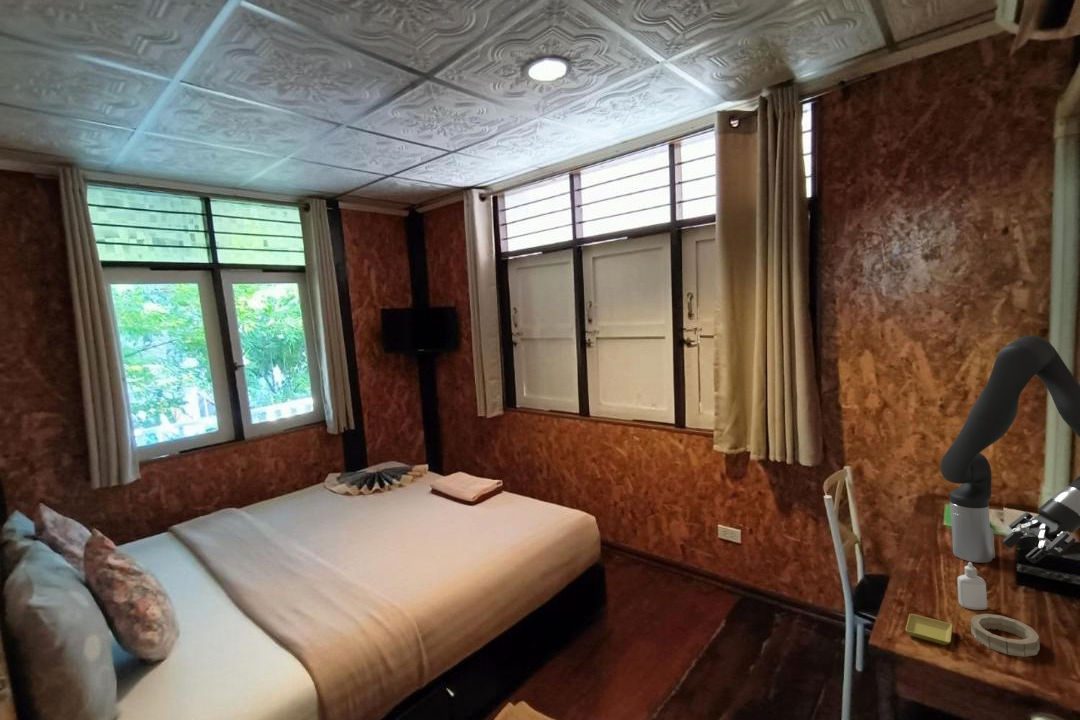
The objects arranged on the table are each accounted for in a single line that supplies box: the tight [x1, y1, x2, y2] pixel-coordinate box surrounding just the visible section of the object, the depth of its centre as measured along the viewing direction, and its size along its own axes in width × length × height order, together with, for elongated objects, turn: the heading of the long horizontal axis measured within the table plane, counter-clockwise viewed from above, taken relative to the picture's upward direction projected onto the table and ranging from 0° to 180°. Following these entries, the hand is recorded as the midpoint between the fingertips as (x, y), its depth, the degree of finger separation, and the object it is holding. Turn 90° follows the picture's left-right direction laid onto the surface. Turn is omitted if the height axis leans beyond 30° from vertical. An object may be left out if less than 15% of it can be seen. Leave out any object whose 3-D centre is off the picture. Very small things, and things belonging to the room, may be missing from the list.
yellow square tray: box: [904, 613, 953, 646], centre depth 120 cm, size 9×9×2 cm
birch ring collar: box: [970, 613, 1041, 658], centre depth 115 cm, size 11×11×3 cm
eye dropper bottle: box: [957, 561, 988, 611], centre depth 128 cm, size 4×6×12 cm
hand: (1017, 552), depth 125 cm, fingers open, 8 cm apart
